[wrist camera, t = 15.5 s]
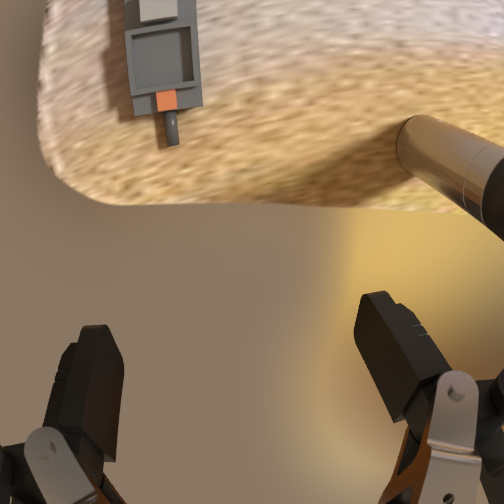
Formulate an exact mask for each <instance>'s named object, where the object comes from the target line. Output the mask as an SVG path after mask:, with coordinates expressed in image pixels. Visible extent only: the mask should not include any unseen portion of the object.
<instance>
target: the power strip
mask: <svg viewBox="0 0 504 504" xmlns="http://www.w3.org/2000/svg"><path fill="white" fill-rule="evenodd" d="M124 8H125V27H126V31H125V44H126V56H127V67H128V77H129V86H130V94H131V96H132V101H133V109H134V116H140V115H146V114H152V113H158V112H163V114H164V123H165V131H166V139H167V146H176V145H179V135H178V126H177V117H176V110H178V109H186V108H194V107H202V106H203V100H202V88H201V75H200V61H199V46H198V30H197V13H196V0H124Z"/></svg>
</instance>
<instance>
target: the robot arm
mask: <svg viewBox="0 0 504 504" xmlns="http://www.w3.org/2000/svg"><path fill="white" fill-rule="evenodd" d="M397 155H398V159H399V161H400V163H401V165H402V166H403V167H404V168H405V169H406V170H407V171H408V172H410V173H411V174H413V175H415V176H416V177H418V178H419V179H421V180H422V181H424V182H425V183H427V184H428V185H430V186H431V187H432V188H434V189H435V190H437V191H438V192H440V193H441V194H443V195H444V196H445V197H447V198H448V199H450V200H451V201H453V202H454V203H455V204H457V205H458V206H459V207H461V208H462V209H463V210H465V211H466V212H468V213H469V214H470V215H472V216H473V217H474V218H476V219H477V220H478V221H480V222H481V223H482V224H483V225H485V226H486V227H487V228H488V229H490V230H491V231H492V232H493V233H495V234H496V235H497V236H498V237H499V238H500V239H502V240H503V241H504V147H502V146H500V145H498V144H496V143H493V142H491V141H489V140H487V139H485V138H483V137H480V136H478V135H476V134H473V133H471V132H469V131H466V130H464V129H462V128H459V127H457V126H454V125H452V124H449V123H447V122H444V121H441V120H439V119H436V118H433V117H430V116H428V115H417V116H415V117H413V118H411V119H410V120H408V121H407V122H406V124H405V125H404V126H403V128H402V129H401V131H400V134H399V136H398V140H397ZM354 339H355V343H356V345H357V348H358V349H359V352H360V354H361V356H362V358H363V360H364V362H365V364H366V365H367V368H368V370H369V372H370V374H371V376H372V378H373V380H374V382H375V384H376V386H377V388H378V390H379V393H380V395H381V397H382V399H383V401H384V403H385V405H386V407H387V409H388V412H389V414H390V416H391V418H392V420H393V423H396V422H399V421H402V420H404V419H406V421H407V424H408V426H407V428H406V431H405V435H404V438H403V442H402V445H401V449H400V452H399V456H398V459H397V462H396V466H395V468H394V471H393V474H392V477H391V479H390V481H389V483H388V485H387V486H386V488H385V490H384V491H383V493H382V496H381V497H380V500H379V502H378V504H475V499H476V495H477V489H478V484H479V479H480V481H481V483H482V486H483V488H484V491H485V494H486V497H487V499H488V502H489V504H504V432H503V430H502V428H501V427H502V426H503V425H504V369H503V370H502V371H501V372H500V374H499V375H498V376H497V378H496V379H490V380H478V381H474V380H473V378H472V377H470V376H469V375H468V374H466V373H464V372H461V371H453V370H452V368H451V367H450V366H449V364H448V363H447V361H446V359H445V358H444V356H443V355H442V353H441V352H440V351H439V349H438V348H437V346H436V345H435V343H434V342H433V340H432V339H431V337H430V336H429V335H427V331H426V330H425V329H424V327H423V326H421V323H420V321H419V320H418V319H417V317H416V316H415V314H414V313H413V312H412V311H410V310H409V309H407V308H406V307H405V306H404V305H402V304H401V303H399V304H395V302H394V301H393V299H392V298H391V297H390V295H389V294H388V292H386V291H379V292H373V293H368V294H363V295H362V297H361V300H360V305H359V309H358V313H357V318H356V322H355V326H354ZM123 380H124V363H123V358H122V356H121V353H120V351H119V349H118V347H117V345H116V343H115V340H114V338H113V336H112V334H111V331H110V329H109V327H108V326H107V325H89V326H84V327H83V328H82V330H81V332H80V336H79V339H78V342H77V343H71V344H70V345H69V346H68V348H67V349H66V350H65V352H64V353H63V354H62V356H61V360H60V363H59V366H58V372H57V373H56V376H55V383H54V384H53V387H52V391H51V395H50V398H49V402H48V406H47V410H46V415H45V419H44V423H43V426H42V427H41V428H38V429H36V430H34V431H33V432H32V433H31V434H30V435H29V436H28V438H27V440H26V442H24V443H20V444H15V445H10V446H5V447H2V446H1V445H0V504H10V496H11V497H12V502H11V504H127V503H126V502H125V501H124V499H123V498H122V497H121V496H120V495H119V493H118V492H117V490H116V489H115V488H114V486H113V485H112V483H111V482H110V481H109V479H108V478H107V476H106V475H105V474H104V472H103V465H104V462H115V461H116V448H117V435H118V424H119V414H120V405H121V396H122V388H123Z"/></svg>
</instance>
